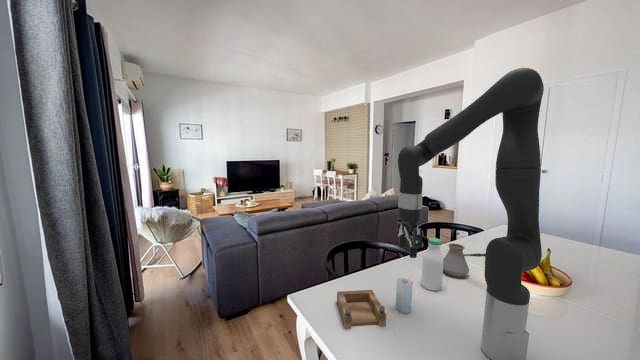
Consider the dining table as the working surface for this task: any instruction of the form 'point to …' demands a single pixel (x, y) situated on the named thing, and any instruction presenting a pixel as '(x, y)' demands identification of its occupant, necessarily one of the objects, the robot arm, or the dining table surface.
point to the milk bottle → (432, 266)
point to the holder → (360, 308)
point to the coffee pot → (457, 261)
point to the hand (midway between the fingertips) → (407, 252)
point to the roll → (404, 295)
